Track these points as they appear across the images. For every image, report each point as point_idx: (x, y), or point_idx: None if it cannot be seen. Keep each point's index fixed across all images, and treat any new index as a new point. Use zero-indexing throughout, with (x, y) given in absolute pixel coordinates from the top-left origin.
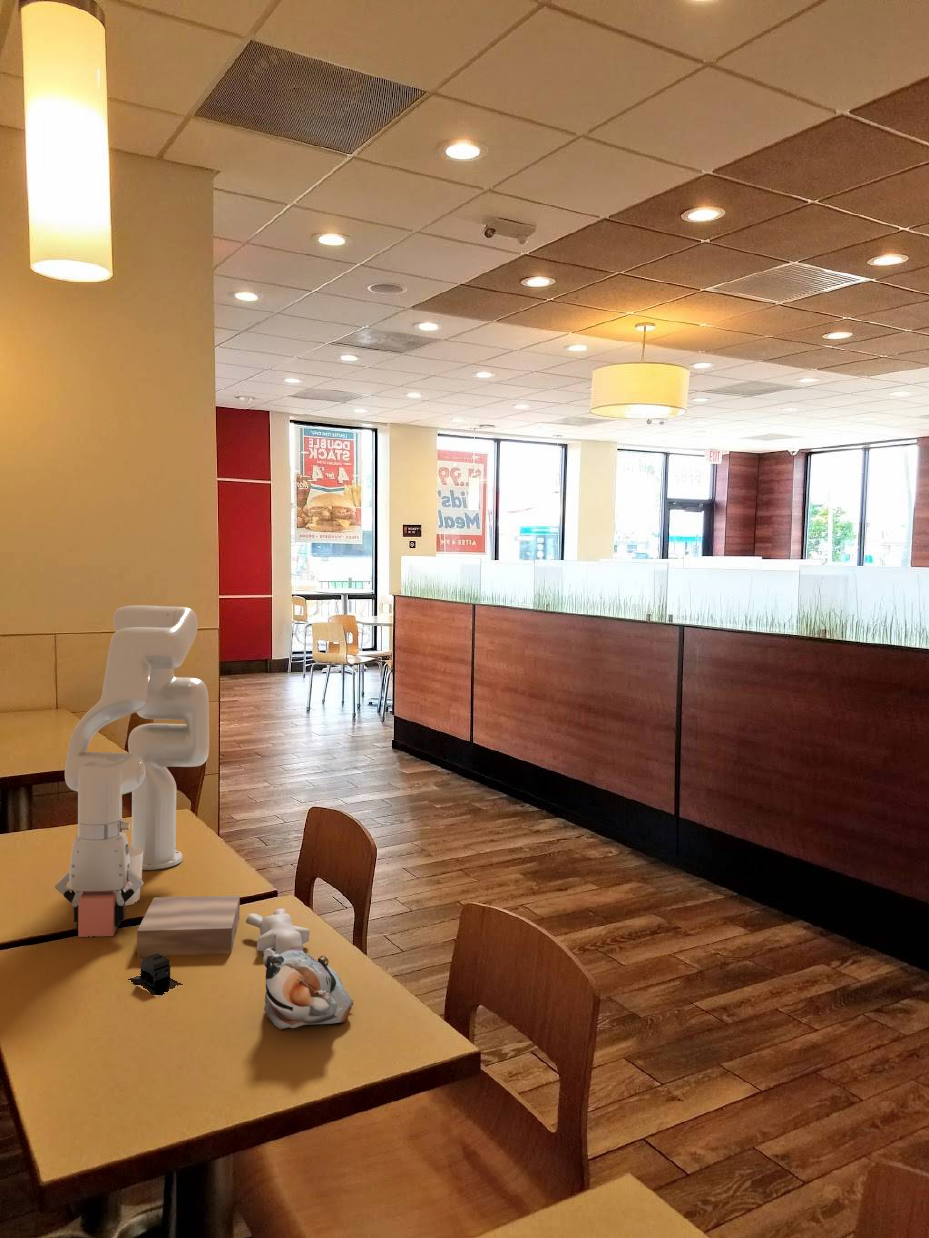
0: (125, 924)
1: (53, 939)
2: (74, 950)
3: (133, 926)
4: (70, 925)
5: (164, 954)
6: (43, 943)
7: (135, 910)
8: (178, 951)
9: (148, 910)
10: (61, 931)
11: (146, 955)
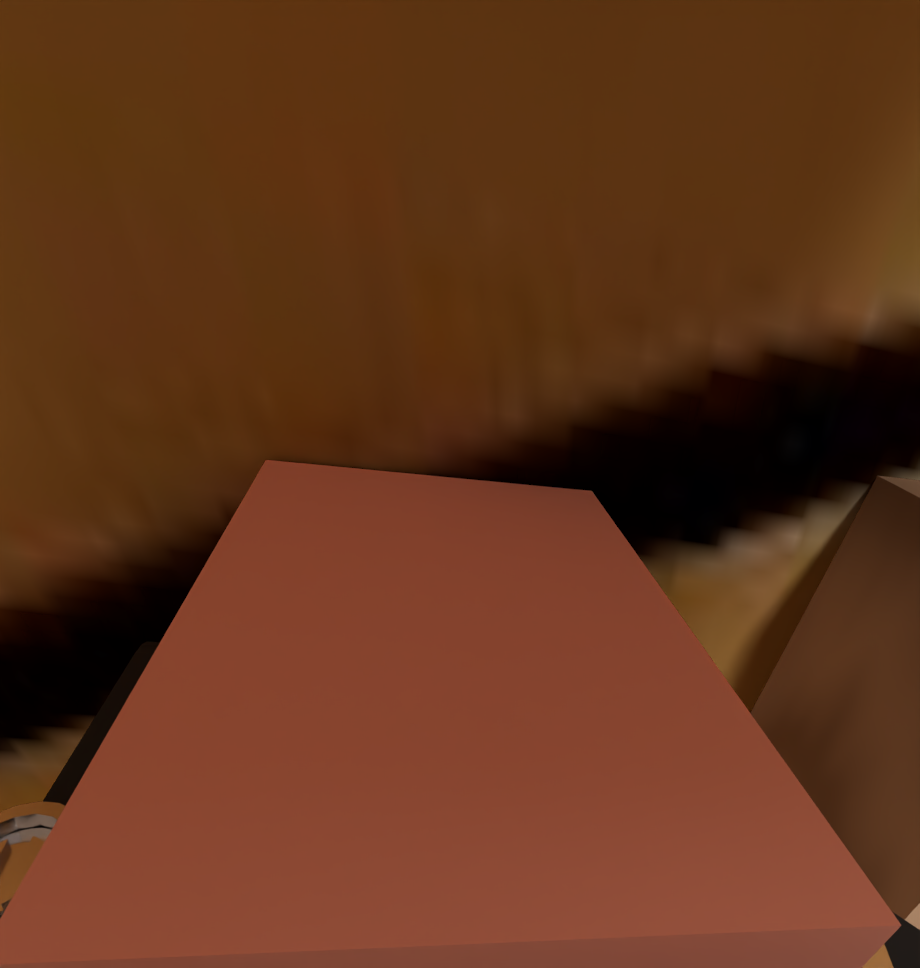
0: (635, 516)
1: (71, 717)
2: None
3: (693, 566)
4: (95, 454)
5: None
6: (22, 767)
7: (803, 106)
8: None
9: (915, 915)
10: (65, 583)
11: None
